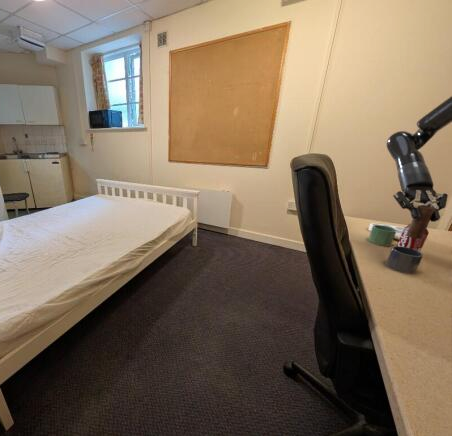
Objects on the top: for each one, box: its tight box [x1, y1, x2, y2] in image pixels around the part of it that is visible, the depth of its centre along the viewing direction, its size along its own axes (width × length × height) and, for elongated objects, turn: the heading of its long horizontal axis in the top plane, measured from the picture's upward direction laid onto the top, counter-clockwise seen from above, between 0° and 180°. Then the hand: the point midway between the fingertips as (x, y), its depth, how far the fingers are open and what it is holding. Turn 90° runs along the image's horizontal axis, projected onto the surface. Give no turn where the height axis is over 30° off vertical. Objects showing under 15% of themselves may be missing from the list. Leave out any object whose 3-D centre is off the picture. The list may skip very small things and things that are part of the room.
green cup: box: [367, 225, 397, 247], centre depth 100 cm, size 8×8×7 cm
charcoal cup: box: [385, 245, 424, 275], centre depth 80 cm, size 8×8×7 cm
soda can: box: [396, 223, 430, 252], centre depth 90 cm, size 7×7×12 cm
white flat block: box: [368, 222, 405, 241], centre depth 108 cm, size 3×18×15 cm
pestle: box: [406, 204, 435, 239], centre depth 75 cm, size 4×4×11 cm
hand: (426, 219), depth 73 cm, fingers closed on pestle, 4 cm apart
